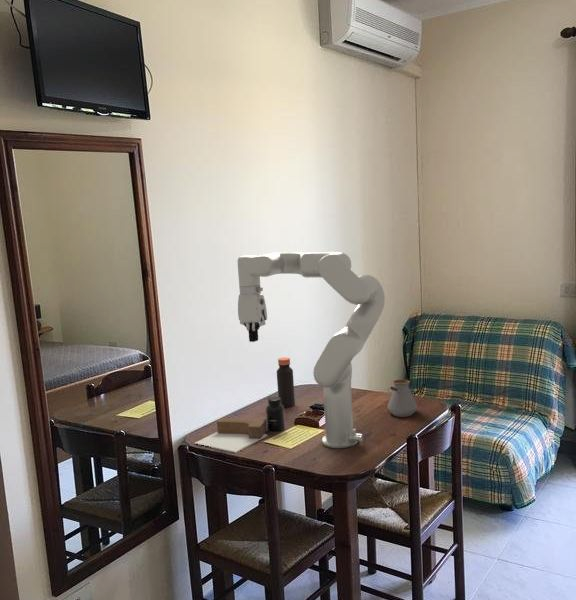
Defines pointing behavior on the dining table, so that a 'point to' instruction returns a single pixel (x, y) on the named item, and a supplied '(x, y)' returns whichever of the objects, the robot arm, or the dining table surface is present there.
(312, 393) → the dining table surface
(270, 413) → the supplement bottle
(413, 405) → the coffee pot
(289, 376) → the vinegar
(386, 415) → the dining table surface
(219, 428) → the wooden block
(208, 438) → the off-white mat
